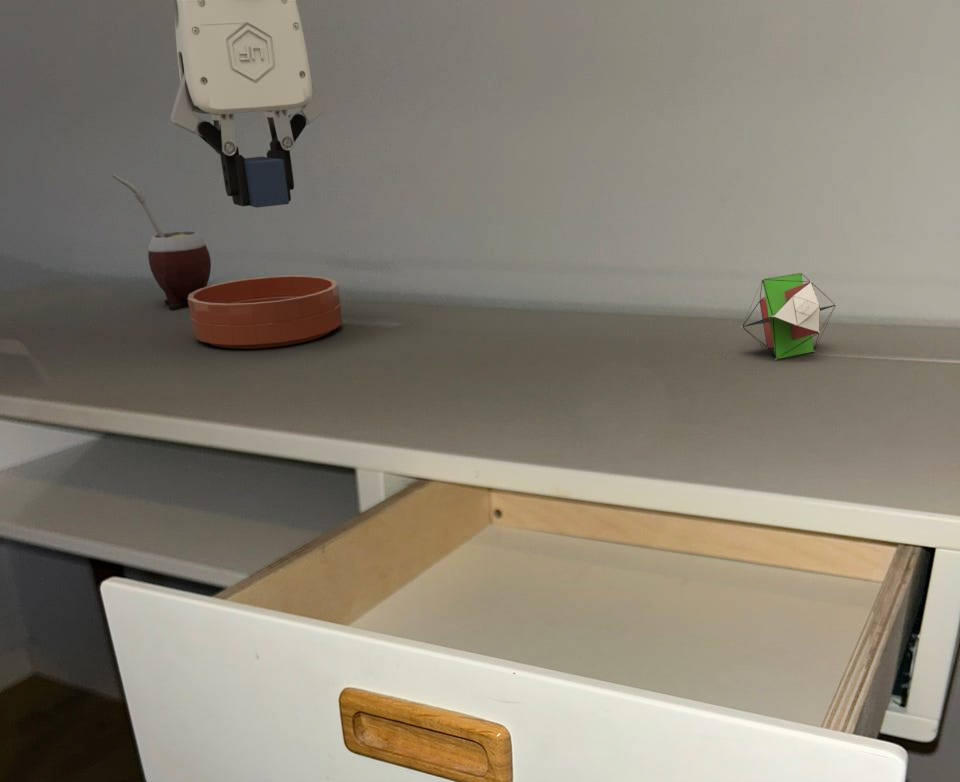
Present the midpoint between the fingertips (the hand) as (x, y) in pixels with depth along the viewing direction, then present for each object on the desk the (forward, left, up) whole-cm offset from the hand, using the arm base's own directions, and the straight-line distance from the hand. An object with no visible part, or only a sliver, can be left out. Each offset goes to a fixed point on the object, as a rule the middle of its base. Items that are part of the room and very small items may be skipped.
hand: (261, 200), depth 93 cm
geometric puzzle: (+36, -28, -14) cm, 48 cm away
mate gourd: (0, +36, -14) cm, 39 cm away
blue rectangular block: (0, 0, 0) cm, 0 cm away
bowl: (+3, +13, -14) cm, 20 cm away
